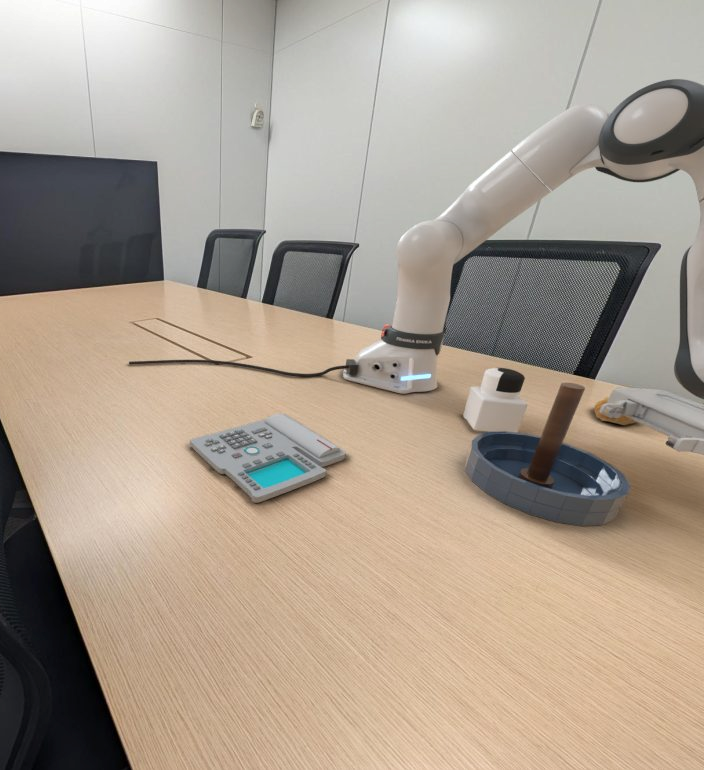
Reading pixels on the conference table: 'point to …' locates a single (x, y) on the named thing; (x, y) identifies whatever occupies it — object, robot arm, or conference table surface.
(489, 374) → the medicine bottle
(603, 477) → the bowl
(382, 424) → the conference table surface
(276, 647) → the conference table surface
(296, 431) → the office telephone
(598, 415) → the pastry
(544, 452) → the stirring stick
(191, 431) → the conference table surface
